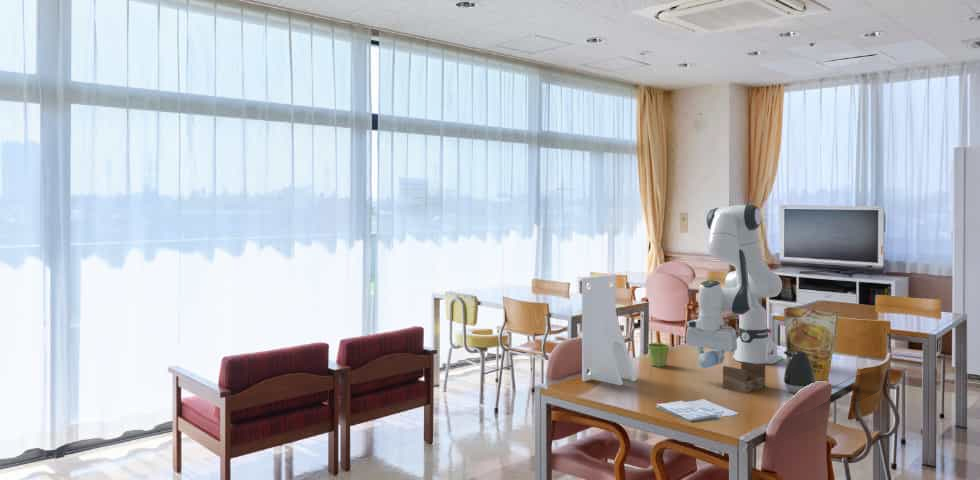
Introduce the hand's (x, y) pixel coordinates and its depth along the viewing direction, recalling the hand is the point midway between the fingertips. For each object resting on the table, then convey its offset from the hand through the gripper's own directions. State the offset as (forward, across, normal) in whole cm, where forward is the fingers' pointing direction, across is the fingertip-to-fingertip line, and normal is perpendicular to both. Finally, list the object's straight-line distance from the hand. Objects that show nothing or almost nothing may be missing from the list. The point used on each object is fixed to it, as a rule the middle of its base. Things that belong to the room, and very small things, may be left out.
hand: (711, 359), depth 271 cm
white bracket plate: (+8, +28, +25) cm, 38 cm away
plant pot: (+9, +31, -9) cm, 34 cm away
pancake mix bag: (+10, -25, -26) cm, 37 cm away
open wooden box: (+8, -13, -1) cm, 15 cm away
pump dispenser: (+9, -30, -9) cm, 32 cm away
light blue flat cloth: (+8, -19, +38) cm, 44 cm away
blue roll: (+2, 0, 0) cm, 2 cm away
